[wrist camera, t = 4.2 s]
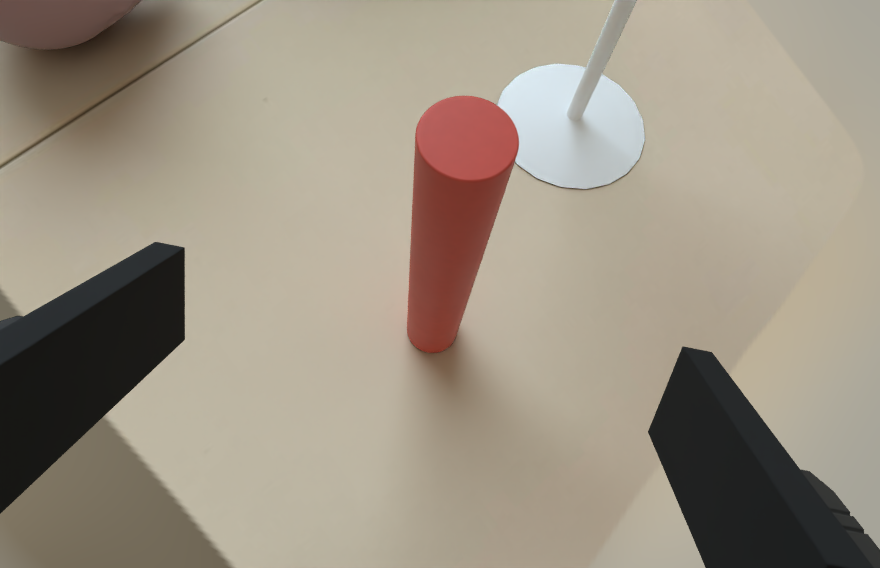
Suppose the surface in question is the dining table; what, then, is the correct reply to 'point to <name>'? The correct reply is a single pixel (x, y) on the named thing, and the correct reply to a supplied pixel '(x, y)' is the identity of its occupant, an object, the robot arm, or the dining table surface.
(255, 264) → the dining table surface
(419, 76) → the dining table surface
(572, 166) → the wineglass
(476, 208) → the red round dowel
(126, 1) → the figurine
